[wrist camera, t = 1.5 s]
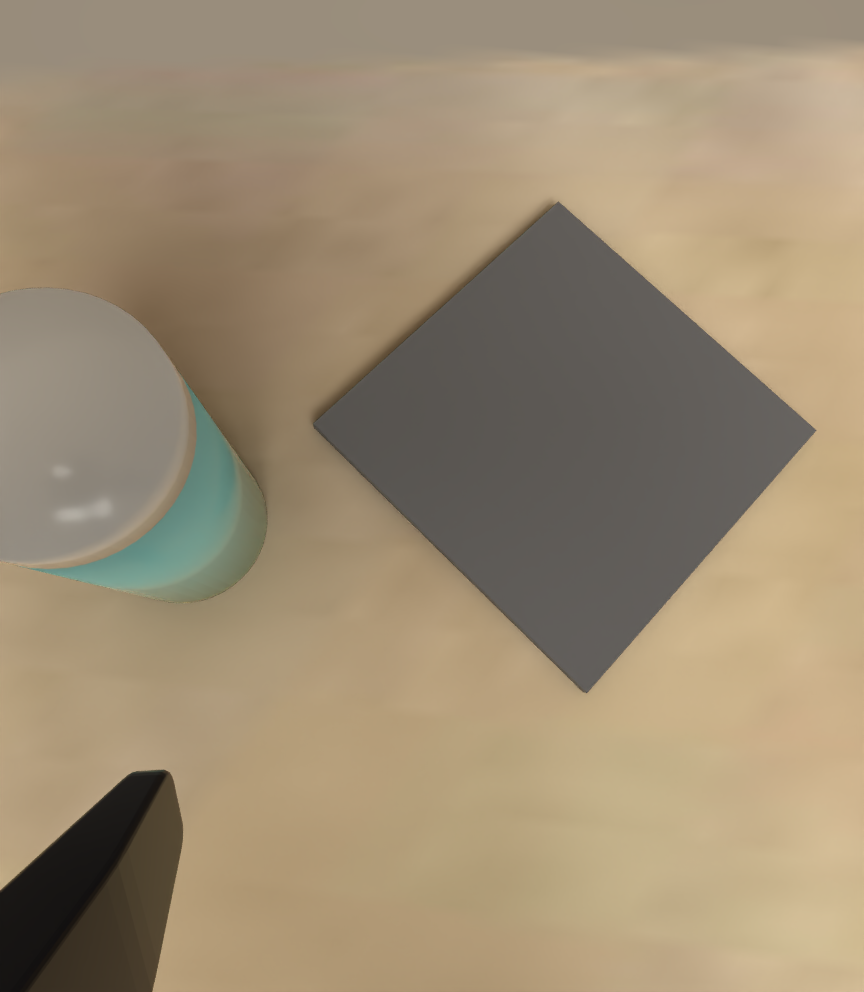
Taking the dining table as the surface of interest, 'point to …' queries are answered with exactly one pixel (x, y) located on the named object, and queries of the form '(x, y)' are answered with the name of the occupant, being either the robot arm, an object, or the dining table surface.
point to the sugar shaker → (114, 457)
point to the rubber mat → (566, 441)
